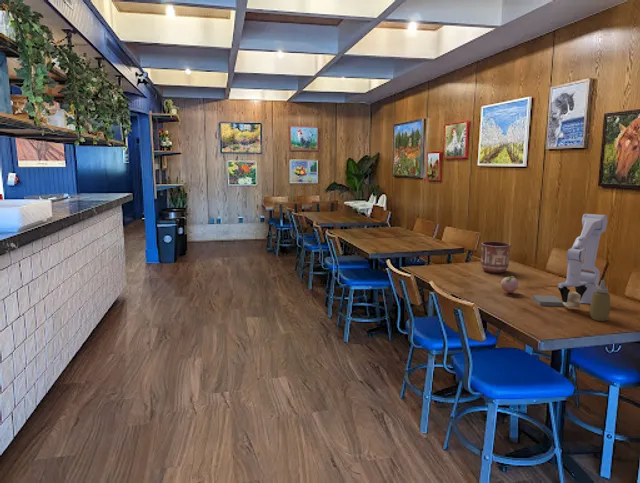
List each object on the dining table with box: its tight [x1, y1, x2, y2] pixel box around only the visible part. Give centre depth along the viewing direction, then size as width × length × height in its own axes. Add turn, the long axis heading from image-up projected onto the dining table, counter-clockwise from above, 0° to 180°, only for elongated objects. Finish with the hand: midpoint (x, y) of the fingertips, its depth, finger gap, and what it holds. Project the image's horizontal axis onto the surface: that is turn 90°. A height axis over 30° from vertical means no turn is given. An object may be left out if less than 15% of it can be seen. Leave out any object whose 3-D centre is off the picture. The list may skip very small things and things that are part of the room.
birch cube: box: [563, 291, 581, 308], centre depth 218 cm, size 6×6×6 cm
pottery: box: [480, 240, 511, 274], centre depth 292 cm, size 18×18×18 cm
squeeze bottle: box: [588, 279, 611, 322], centre depth 204 cm, size 8×8×18 cm
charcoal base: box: [532, 294, 565, 307], centre depth 230 cm, size 11×11×2 cm
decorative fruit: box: [500, 275, 519, 294], centre depth 244 cm, size 9×8×10 cm
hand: (571, 301), depth 218 cm, fingers closed on birch cube, 7 cm apart
